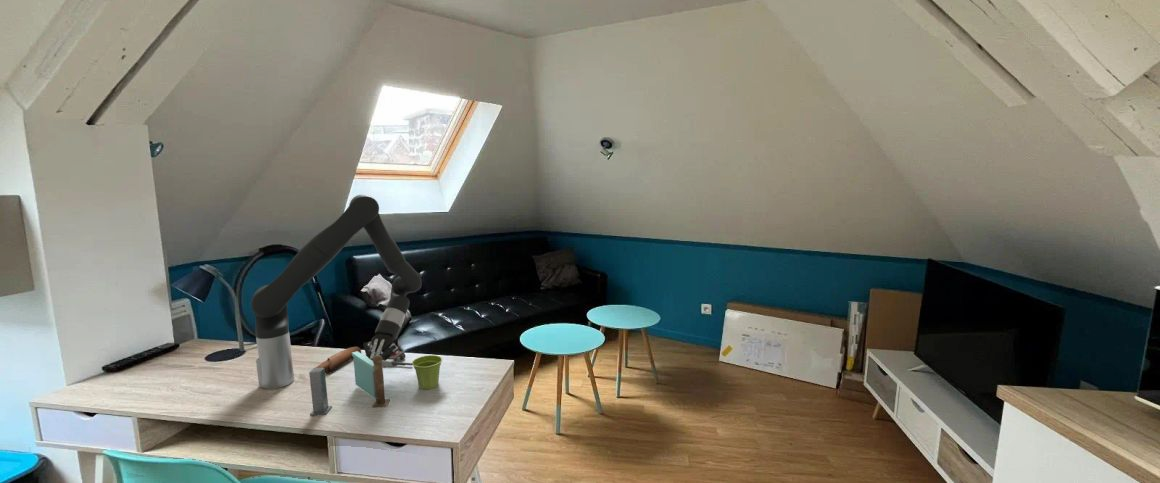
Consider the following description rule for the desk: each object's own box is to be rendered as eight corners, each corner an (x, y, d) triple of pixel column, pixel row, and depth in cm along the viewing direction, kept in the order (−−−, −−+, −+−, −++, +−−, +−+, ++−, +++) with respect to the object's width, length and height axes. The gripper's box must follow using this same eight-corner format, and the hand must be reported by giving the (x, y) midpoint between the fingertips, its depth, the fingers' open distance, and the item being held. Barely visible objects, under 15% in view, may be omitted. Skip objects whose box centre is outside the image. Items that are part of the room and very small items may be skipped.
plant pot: (449, 385, 157) (447, 360, 156) (423, 395, 151) (421, 369, 149) (434, 376, 164) (432, 352, 162) (408, 386, 157) (406, 361, 156)
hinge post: (372, 407, 143) (368, 358, 140) (376, 401, 147) (372, 353, 144) (386, 407, 143) (382, 357, 141) (389, 400, 147) (386, 352, 145)
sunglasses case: (341, 353, 186) (348, 339, 184) (356, 362, 185) (363, 349, 184) (309, 372, 168) (316, 357, 167) (325, 383, 168) (332, 368, 166)
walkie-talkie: (361, 365, 175) (411, 369, 171) (360, 353, 174) (410, 357, 170) (376, 356, 184) (423, 359, 180) (375, 345, 183) (423, 348, 179)
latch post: (310, 415, 139) (305, 373, 137) (316, 408, 143) (312, 367, 141) (325, 414, 139) (321, 372, 137) (331, 407, 144) (327, 366, 141)
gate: (381, 398, 147) (378, 364, 145) (375, 400, 146) (372, 366, 144) (360, 382, 158) (357, 351, 156) (354, 384, 156) (351, 352, 155)
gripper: (368, 317, 166) (346, 365, 156) (402, 320, 163) (382, 368, 153) (379, 327, 172) (359, 373, 162) (412, 329, 169) (393, 377, 159)
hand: (370, 371), depth 157 cm, fingers closed
